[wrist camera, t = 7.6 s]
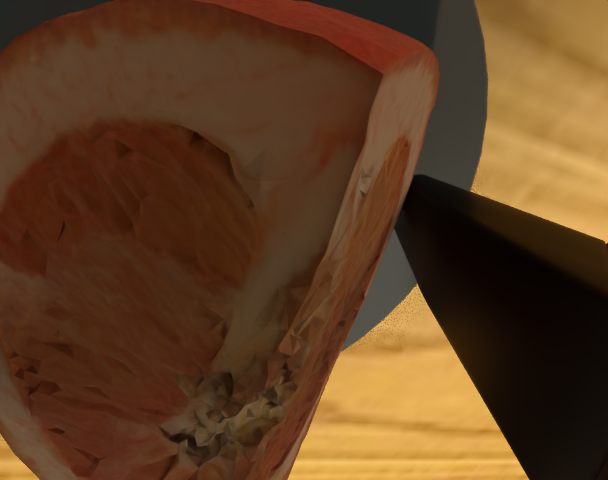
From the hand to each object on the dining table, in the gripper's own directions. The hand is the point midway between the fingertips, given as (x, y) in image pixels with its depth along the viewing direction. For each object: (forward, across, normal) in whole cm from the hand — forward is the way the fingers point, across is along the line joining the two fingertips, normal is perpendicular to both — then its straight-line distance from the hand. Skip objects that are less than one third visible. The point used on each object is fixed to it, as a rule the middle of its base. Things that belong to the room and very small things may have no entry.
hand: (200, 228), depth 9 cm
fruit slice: (+1, 0, 0) cm, 1 cm away
